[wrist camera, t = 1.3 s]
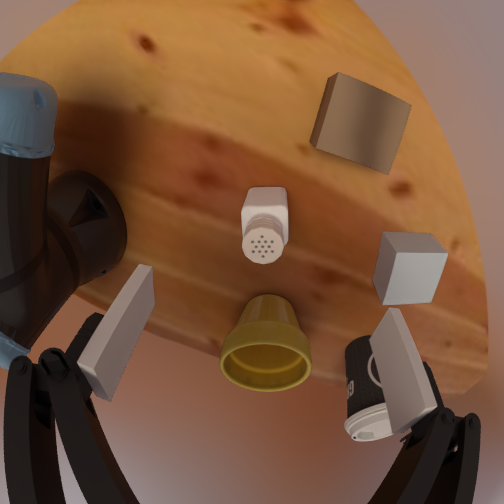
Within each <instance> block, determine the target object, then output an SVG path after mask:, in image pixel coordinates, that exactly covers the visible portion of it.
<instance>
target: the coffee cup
mask: <svg viewBox="0 0 504 504" xmlns="http://www.w3.org/2000/svg"><path fill="white" fill-rule="evenodd" d="M370 337H371V336H364V337H360V338H358V339H356V340H354V341H352V342H351V343H350V344H349V345H348V346H347V348H346V350H345V360H346V378H347V405H348V406H347V407H348V408H347V411H348V413H347V414H348V415H347V416H348V417H347V418H348V419H347V420H346V422H345V424H344V426H345V429H346V431H347V432H348V433H349V434H350V435H351V437H352V439H354V440H356V441H372V440H377V439H381V438H384V437H387V436H390V435H392V430H391V425H390V420H389V416H388V411H387V407H386V402H385V398H384V394H383V389H382V385H381V381H380V377H379V374H378V370H377V366H376V362H375V359H374V355H373V351H372V348H371V345H370V341H369V339H370Z"/></svg>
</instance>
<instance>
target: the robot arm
mask: <svg viewBox="0 0 504 504" xmlns="http://www.w3.org/2000/svg"><path fill="white" fill-rule="evenodd" d="M57 110H58V97H57V94H56V92H55V90H54V89H53V88H52V86H50V85H49V84H48V83H46V82H44V81H42V80H39V79H36V78H32V77H28V76H23V75H18V74H11V73H2V72H0V367H2V368H4V369H7V370H9V372H8V378H7V386H6V395H5V408H4V462H5V473H6V482H7V489H8V495H9V501H10V504H66V502H65V497H64V492H63V487H62V482H61V476H60V471H59V464H58V455H57V445H56V432H55V419H56V423H57V426H58V430H59V433H60V437H61V439H62V443H63V445H64V449H65V452H66V454H67V457H68V460H69V463H70V465H71V468H72V470H73V473H74V475H75V478H76V480H77V482H78V484H79V487H80V489H81V491H82V493H83V495H84V497H85V499H86V501H87V503H88V504H140V503H139V502H138V500H137V498H136V497H135V495H134V493H133V491H132V490H131V488H130V486H129V484H128V483H127V481H126V479H125V477H124V475H123V473H122V471H121V470H120V467H119V466H118V463H117V461H116V459H115V457H114V455H113V453H112V451H111V449H110V446H109V444H108V442H107V439H106V437H105V435H104V432H103V430H102V428H101V425H100V422H99V420H98V417H97V414H96V412H95V409H94V406H93V403H92V400H91V398H90V395H91V393H92V391H93V392H94V393H95V395H96V396H97V397H100V398H102V399H105V400H107V401H110V402H111V400H112V398H113V396H114V393H115V391H116V388H117V386H118V384H119V381H120V379H121V377H122V374H123V372H124V370H125V368H126V365H127V362H128V361H129V359H130V356H131V354H132V352H133V350H134V347H135V345H136V343H137V341H138V339H139V337H140V335H141V333H142V331H143V328H144V326H145V324H146V322H147V320H148V318H149V316H150V314H151V312H152V310H153V308H154V306H155V300H154V286H153V269H152V266H147V265H143V264H139V265H138V266H137V268H136V269H135V271H134V272H133V273H132V275H131V276H130V278H129V279H128V281H127V282H126V284H125V285H124V287H123V288H122V290H121V291H120V293H119V294H118V296H117V297H116V299H115V300H114V302H113V303H112V305H111V306H110V308H109V309H108V311H107V313H106V314H105V315H102V314H99V313H96V312H95V313H94V314H92V315H91V316H89V317H88V318H87V319H86V321H85V322H84V324H83V325H82V328H80V330H79V331H78V334H77V335H76V336H75V338H74V339H73V341H72V342H71V344H70V346H69V347H68V349H67V351H66V352H65V353H64V352H63V351H62V350H61V349H58V348H49V349H47V350H45V351H44V352H43V353H42V354H41V355H40V357H39V361H38V364H33V363H32V362H31V360H30V359H29V358H28V357H27V356H26V355H27V354H28V353H30V351H31V347H32V346H33V344H34V343H35V342H36V340H37V339H38V337H39V336H40V335H41V333H42V332H43V331H44V329H45V328H46V327H47V325H48V324H49V323H50V321H51V320H52V319H53V317H54V316H55V315H56V313H57V312H58V311H59V310H60V308H61V307H62V306H63V305H64V303H65V302H66V301H67V300H68V298H69V297H70V296H71V295H72V293H73V292H74V291H75V290H76V289H77V288H78V287H79V286H81V285H83V284H85V283H87V282H89V281H91V280H93V279H94V278H96V277H99V276H102V275H104V274H106V273H107V272H108V271H110V270H111V269H112V268H113V266H114V265H115V264H116V263H117V262H118V261H119V259H120V258H121V256H122V255H123V252H124V250H125V246H126V225H125V220H124V217H123V213H122V211H121V208H120V206H119V204H118V202H117V200H116V199H115V197H114V195H113V194H112V193H111V191H110V190H109V189H108V188H107V186H106V185H105V184H104V183H102V182H101V181H100V180H99V179H98V178H96V177H95V176H93V175H91V174H89V173H86V172H83V171H70V172H66V173H64V174H62V175H60V176H58V177H56V178H54V179H53V180H52V181H50V182H49V183H48V178H49V166H50V157H51V154H52V153H53V151H54V148H55V143H54V139H53V138H54V130H55V123H56V116H57ZM369 341H370V345H371V348H372V351H373V355H374V359H375V362H376V366H377V370H378V374H379V377H380V381H381V385H382V389H383V394H384V398H385V402H386V407H387V411H388V416H389V420H390V425H391V430H392V434H397V433H403V432H405V431H406V430H408V429H409V428H411V430H412V432H411V433H409V434H408V435H406V436H405V437H403V438H402V439H401V440H400V442H402V441H404V440H405V439H406V441H405V442H404V443H403V444H404V445H403V447H402V449H401V451H400V453H399V454H398V456H397V458H396V460H395V462H394V463H393V465H392V467H391V469H390V470H389V472H388V474H387V475H386V477H385V478H384V480H383V482H382V483H381V485H380V486H379V488H378V489H377V491H376V492H375V494H374V495H373V497H372V498H371V500H370V501H369V502H368V504H472V501H473V496H474V491H475V485H476V479H477V471H478V463H479V451H480V433H481V431H480V429H481V424H480V419H479V418H478V416H477V415H476V414H474V413H469V414H468V415H467V416H465V417H464V418H463V417H458V416H455V415H454V413H453V411H451V409H449V408H445V407H444V405H443V402H442V399H441V396H440V393H439V390H438V387H437V384H436V382H435V379H434V378H433V377H434V376H433V373H432V371H431V368H430V367H429V366H428V364H427V363H426V362H422V361H421V358H420V356H419V353H418V351H417V348H416V346H415V343H414V341H413V338H412V336H411V334H410V331H409V329H408V327H407V325H406V322H405V320H404V318H403V316H402V313H401V311H400V309H397V308H388V310H387V312H386V313H385V315H384V317H383V318H382V320H381V322H380V323H379V325H378V326H377V328H376V330H375V331H374V333H373V334H372V336H371V337H370V339H369ZM456 446H458V449H457V451H456V452H454V448H455V447H456Z"/></svg>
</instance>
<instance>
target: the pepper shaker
mask: <svg viewBox="0 0 504 504" xmlns="http://www.w3.org/2000/svg"><path fill="white" fill-rule="evenodd" d="M241 222H242V233H243V242H242V249H243V251H244V254H245V256H246V257H247V258H249V259H250V260H251V261H252V262H255V263H260V264H267V263H272V262H274V261H275V260H277V259H278V258H279V257H280V256H281V255H282V251H283V248H284V245H286V244H287V242H288V203H287V192H286V190H285V188H283V187H253V188H251V189H249V191H248V194H247V197H246V199H245V202H244V205H243V208H242V211H241Z"/></svg>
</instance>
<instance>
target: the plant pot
mask: <svg viewBox="0 0 504 504" xmlns="http://www.w3.org/2000/svg"><path fill="white" fill-rule="evenodd" d="M219 363H220V364H219V365H220V369H221V371H222V373H223V374H224V375H225V377H226V378H228V379H229V380H230V381H231V382H233V383H234V384H236V385H238V386H241V387H243V388H247V389H250V390H255V391H263V392H272V391H281V390H286V389H289V388H292V387H295V386H297V385H299V384H300V383H302V382H303V381H304V380H305V379H306V378H307V377H308V376H309V374H310V372H311V369H312V359H311V350H310V344H309V341H308V339H307V337H306V336H305V334H304V333H303V332H302V331H301V330H300V327H299V324H298V321H297V318H296V316H295V313H294V310H293V308H292V306H291V304H290V303H289V302H288V301H287V300H286V299H284V298H282V297H280V296H277V295H272V294H265V295H260V296H257V297H254V298H253V299H251V300H250V301H249V302H248V303H247V305H246V307H245V309H244V311H243V313H242V315H241V317H240V319H239V321H238V323H237V325H236V327H235V328H234V329H233V330H232V331H230V332H229V334H228V335H227V336H226V338H225V340H224V343H223V347H222V351H221V355H220V362H219Z"/></svg>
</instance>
